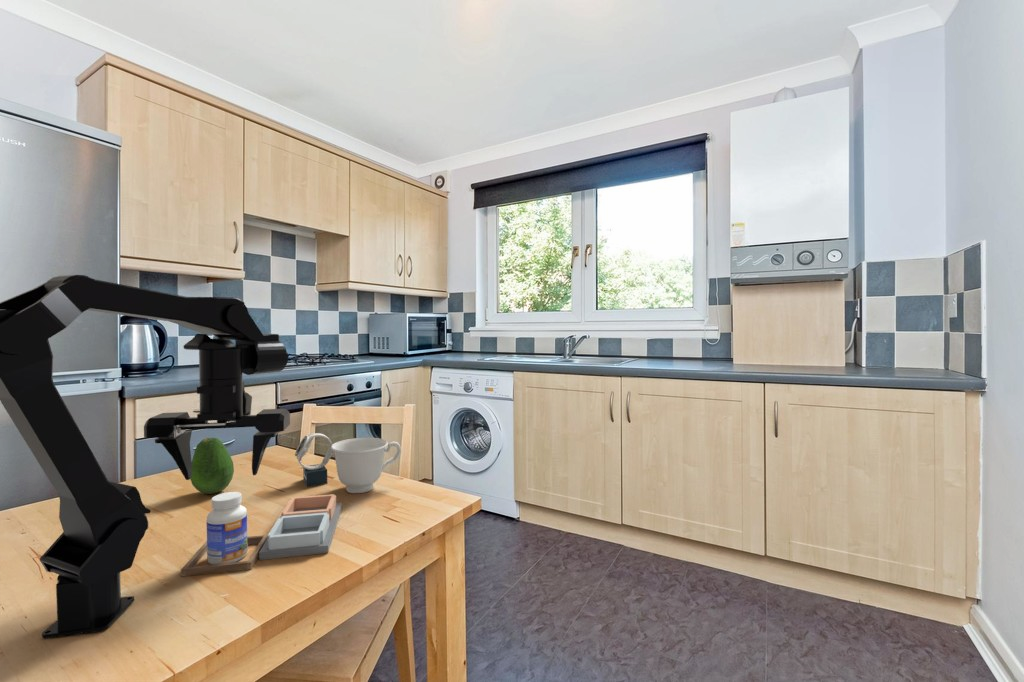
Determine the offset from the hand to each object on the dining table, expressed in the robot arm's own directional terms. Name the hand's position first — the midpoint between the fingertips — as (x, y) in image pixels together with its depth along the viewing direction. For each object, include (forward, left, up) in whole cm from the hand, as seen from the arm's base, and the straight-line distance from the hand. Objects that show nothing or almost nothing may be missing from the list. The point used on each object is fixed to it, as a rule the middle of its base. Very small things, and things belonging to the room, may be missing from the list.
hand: (222, 476), depth 73 cm
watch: (+33, -8, -13) cm, 36 cm away
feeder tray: (-1, -1, -12) cm, 13 cm away
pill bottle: (-1, -1, -13) cm, 13 cm away
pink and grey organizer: (+6, -11, -12) cm, 18 cm away
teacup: (+26, -20, -13) cm, 35 cm away
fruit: (+30, +12, -13) cm, 35 cm away
